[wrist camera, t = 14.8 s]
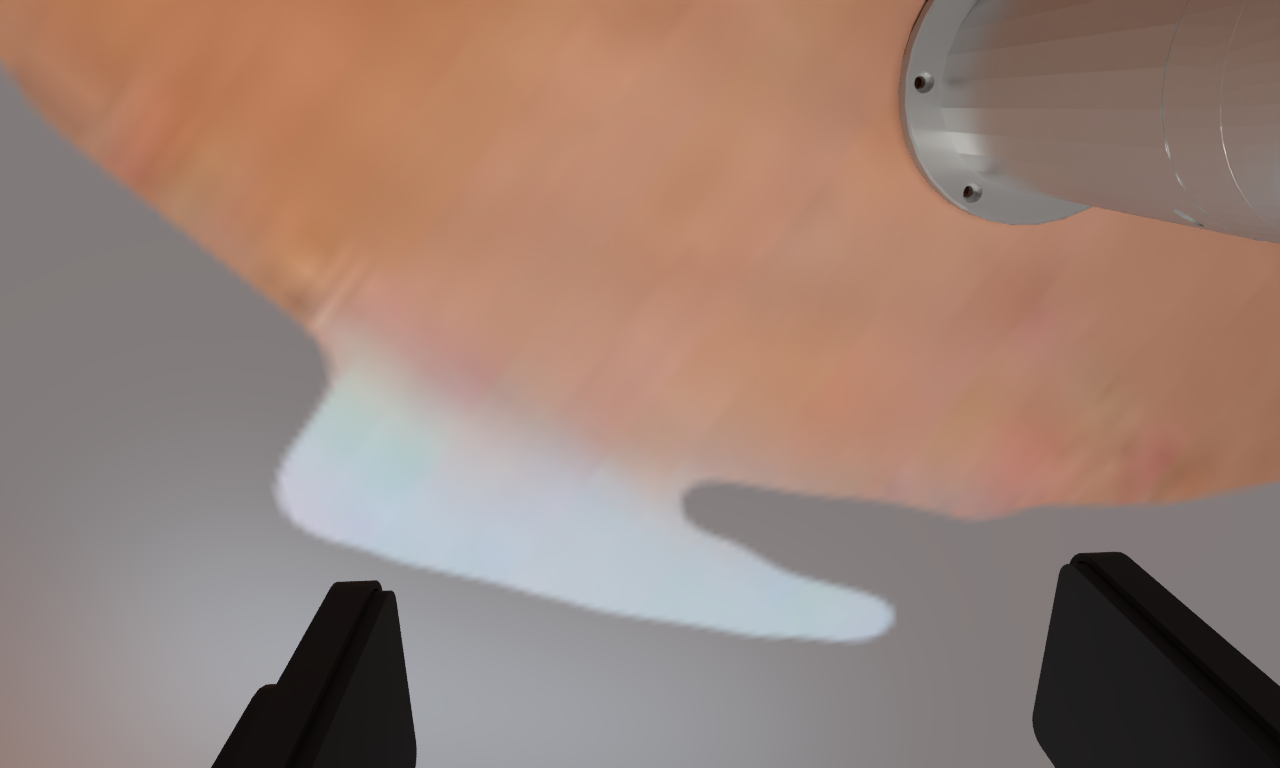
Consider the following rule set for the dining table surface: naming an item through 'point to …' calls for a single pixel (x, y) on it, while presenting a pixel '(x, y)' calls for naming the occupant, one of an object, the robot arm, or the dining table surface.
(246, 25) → the dining table surface
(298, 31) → the dining table surface
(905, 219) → the dining table surface
